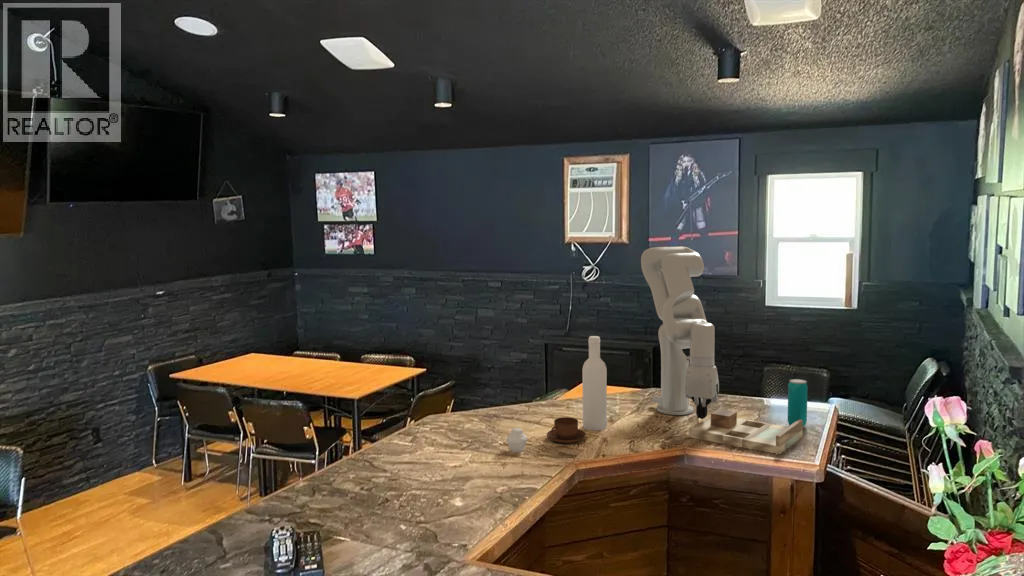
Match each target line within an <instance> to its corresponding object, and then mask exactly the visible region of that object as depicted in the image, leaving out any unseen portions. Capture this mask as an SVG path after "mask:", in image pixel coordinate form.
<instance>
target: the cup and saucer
mask: <svg viewBox="0 0 1024 576" xmlns="http://www.w3.org/2000/svg"><path fill="white" fill-rule="evenodd" d="M553 425H554V426H553V427H551V430H549V431H548V432H547V433H546V436H547V438H548V439H549V440H550V441H553V442H555V443H559V444H560V443H561V444H573V443H577V442H580V441H582V440H584V439H585V438H586V432H585V431H583V430H582V429H579V420H578V419H577V418H574V417H569V416H567V417H566V416H565V417H558V418H554V420H553Z"/></svg>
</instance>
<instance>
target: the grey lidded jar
mask: <svg viewBox="0 0 1024 576" xmlns="http://www.w3.org/2000/svg"><path fill="white" fill-rule="evenodd" d="M523 431H524V430H523V429H522V428H520V427H515V428H512V429H511V430H510V433H509V435H507V437H506V442H507V445H508V446H509V448H510V451H511V452H512V453H521V452H523V450H524V448H525V447H526V445H527V442H528V437H527V435H526V434H525V432H523Z"/></svg>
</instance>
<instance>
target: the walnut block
mask: <svg viewBox="0 0 1024 576" xmlns="http://www.w3.org/2000/svg"><path fill="white" fill-rule="evenodd" d="M710 417H711V426H715V427H720V428H726V429H730V428H732V427H733V426H735V425H737V418H738V412H737V411H732V410H727V409H722V408H721V409H720V408H719V409H716V410H714V411H712V412H711V413H710Z"/></svg>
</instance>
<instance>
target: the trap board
mask: <svg viewBox="0 0 1024 576" xmlns="http://www.w3.org/2000/svg"><path fill="white" fill-rule="evenodd" d="M803 429H804V428H803V420H800V419H798V420H797V421H796V422H794V423H793V424H791V425H790V426H789V425H788V426H785V425H779V424H772V423H768V422H763V421H756V420H751V419H747V418H740V417H737V425H735V426H733V427H732V428H730V429H726V428H720V427H715V426H711V416H709V417H708V418H706V419H704V420H703V421H701V422H700V423H697V424H695V425H693V426H691V427H690V428H688V438H693V439H696V440H702V441H707V442H712V443H717V444H722V445H728V446H731V447H732V446H733V447H737V448H742V447H743V448H742V449H747V448H748V450H752V449H754V450H753V451H757V450H759V452H762V451H764V452H763V453H767V452H771V453H770V454H772V453H776V454H775V455H778V454H780V455H781V453H782V452H783V451H784V452H786V451H787V450H788V449H789V448H791V447H793V445H794V444H796V443H797V442H798V441H800V440H801V439H802V438H803ZM790 446H791V447H790ZM787 448H788V449H787ZM786 449H787V450H786ZM784 452H783V453H784ZM783 453H782V454H783Z"/></svg>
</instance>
